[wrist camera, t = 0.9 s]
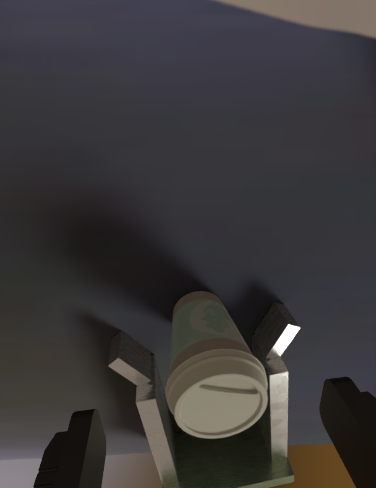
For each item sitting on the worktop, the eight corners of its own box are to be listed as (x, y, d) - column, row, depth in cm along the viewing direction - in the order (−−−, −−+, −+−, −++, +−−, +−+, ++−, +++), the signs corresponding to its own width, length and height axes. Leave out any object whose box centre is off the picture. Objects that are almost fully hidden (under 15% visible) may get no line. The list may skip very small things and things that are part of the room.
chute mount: (284, 299, 35) (320, 350, 28) (284, 417, 44) (310, 478, 37) (110, 332, 34) (100, 395, 27) (147, 446, 43) (147, 514, 36)
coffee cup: (249, 311, 35) (294, 404, 24) (193, 352, 37) (213, 456, 26) (203, 265, 32) (232, 349, 21) (144, 312, 33) (143, 413, 23)
